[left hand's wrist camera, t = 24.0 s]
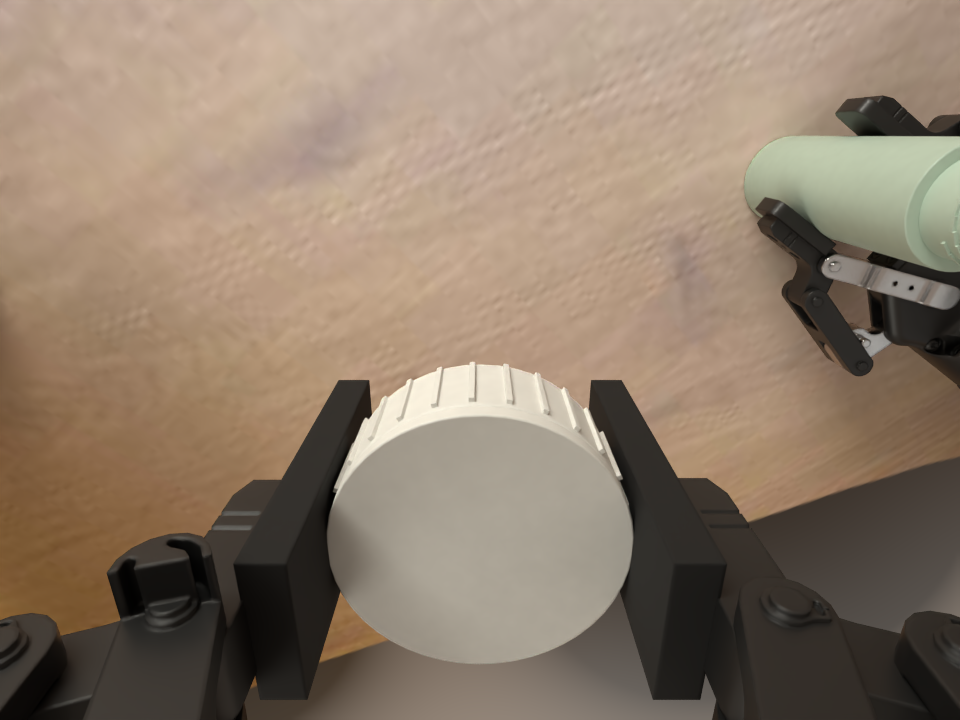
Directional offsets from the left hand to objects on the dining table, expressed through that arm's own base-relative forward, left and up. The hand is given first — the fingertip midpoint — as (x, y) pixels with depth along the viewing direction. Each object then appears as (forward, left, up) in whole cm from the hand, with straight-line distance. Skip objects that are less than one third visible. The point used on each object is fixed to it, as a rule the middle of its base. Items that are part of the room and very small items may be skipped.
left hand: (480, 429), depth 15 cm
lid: (0, 0, +4) cm, 4 cm away
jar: (+19, 0, -22) cm, 29 cm away
